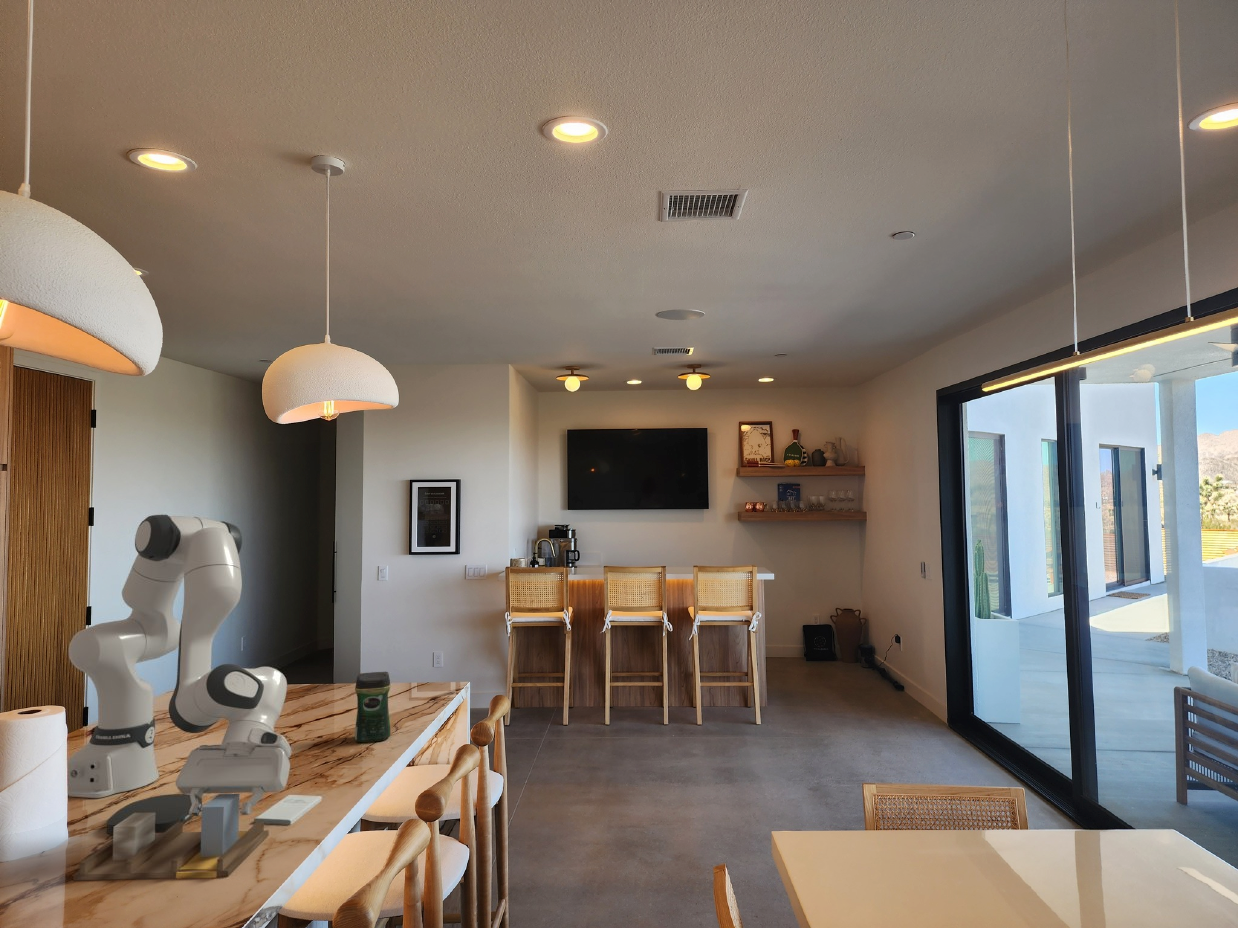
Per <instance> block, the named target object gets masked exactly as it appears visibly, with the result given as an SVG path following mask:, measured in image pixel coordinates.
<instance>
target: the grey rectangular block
mask: <svg viewBox="0 0 1238 928" xmlns="http://www.w3.org/2000/svg"><path fill="white" fill-rule="evenodd" d="M202 806H203V807H202V811H201V824H200V825H201V830H200V832H201V857H218V856H222V855H223V854H224V853H225V852H226V851H227V850H228V849H229V848H230V847H231V846H232V845H233V844H234V843H235V842H236V841H237V840H238V837H239V831H240V830H239V829H240V828H239V827H240V793H217V795H216V796H214V797H213V798H212V799H210V800H209V801H207V803H205V804H204V805H202Z"/></svg>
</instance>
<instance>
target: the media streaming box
mask: <svg viewBox="0 0 1238 928" xmlns="http://www.w3.org/2000/svg"><path fill="white" fill-rule="evenodd" d="M198 802H199V803H200V804H201V806H203V797H202V798H201V799H199V798H198ZM191 805H192V802H191V797H190V794H183V793H178V794H177V793H173V794H171V793H170V794H169V793H168V794H161V795H155V796H151V797H146V798H142V799H139V800H136V801H133V802H130V803H129V804H126V805H125V806H123V807H122V808H120V809H118V810H117V811H116V812H114V813H113V814H112V815H111V816H110V817H109V818H108V819H107V821H106V834H107V835H109V836H113V832H114V826H116V825H117V824H119V823H120V822H122V821H123V820H125V819H126V818H128V817H129V816H131V815H132V814H134V813H155V833H164V832H165V831H167V830H168V829H169V828H171V827H172V826H173V825H175V824H176V823H177V822H183V825H184V824H186V823H187V822H188V821H190V820H191V819H192V818H194V816H191V815H190V814H189V810H190V808H191Z"/></svg>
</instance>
